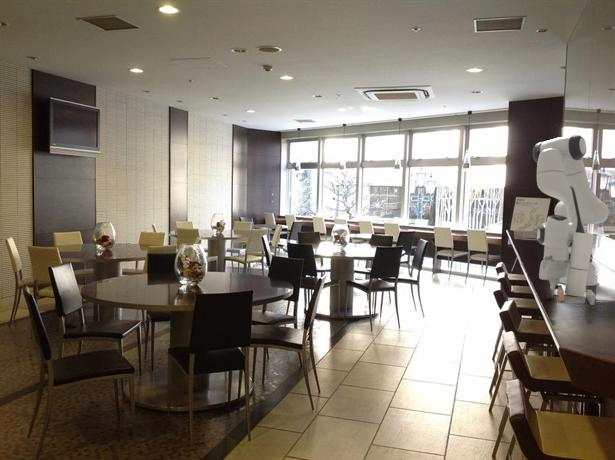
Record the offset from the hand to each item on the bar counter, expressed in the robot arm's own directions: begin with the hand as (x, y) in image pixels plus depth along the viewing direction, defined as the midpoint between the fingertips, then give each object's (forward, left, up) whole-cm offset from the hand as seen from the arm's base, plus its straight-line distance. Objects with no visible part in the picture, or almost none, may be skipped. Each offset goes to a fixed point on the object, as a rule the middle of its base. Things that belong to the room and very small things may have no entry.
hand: (553, 289), depth 219 cm
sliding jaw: (+11, +2, -2) cm, 11 cm away
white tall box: (-2, +8, -2) cm, 8 cm away
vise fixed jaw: (+11, +12, -2) cm, 17 cm away
